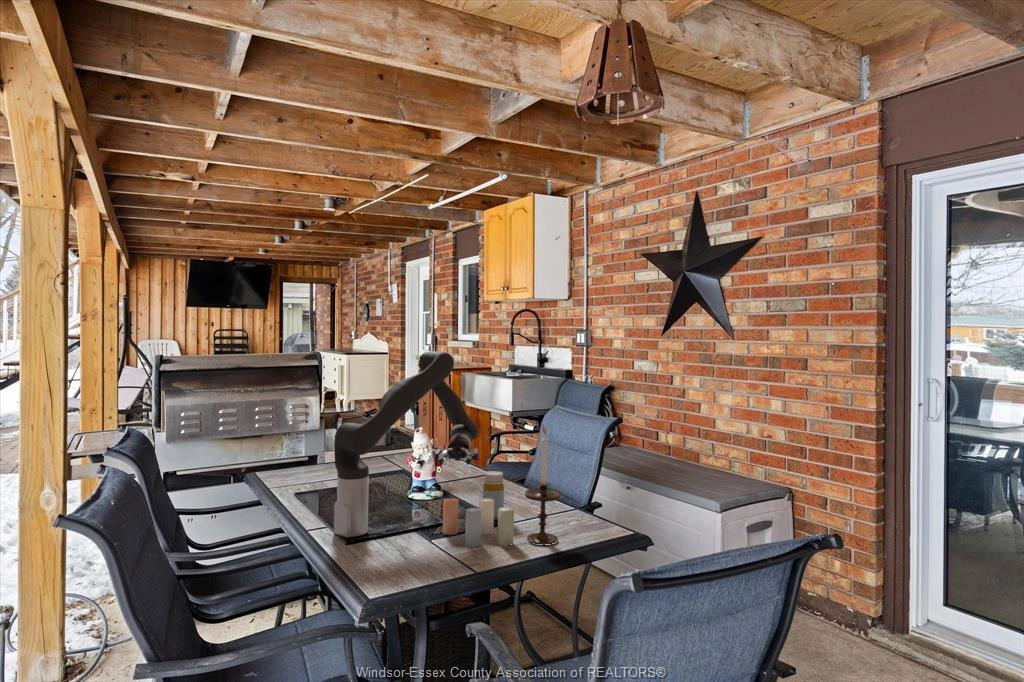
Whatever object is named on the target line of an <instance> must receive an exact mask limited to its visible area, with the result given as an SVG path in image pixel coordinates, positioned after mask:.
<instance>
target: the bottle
mask: <svg viewBox="0 0 1024 682" xmlns="http://www.w3.org/2000/svg"><path fill="white" fill-rule="evenodd" d="M503 482H504V473H503V472H502V471H500V470H499V471H498V470H488V471H485V472H484V484H483V487H482V499H483V498H490V499H493V500H494V520H495V521H498V520H497V519H498V509H500V508H505V507H504V505H505V503H504V501H505V500H504V499H505V486H504V483H503Z"/></svg>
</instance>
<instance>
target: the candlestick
mask: <svg viewBox="0 0 1024 682" xmlns="http://www.w3.org/2000/svg"><path fill="white" fill-rule="evenodd" d="M541 425H542V432H543V436H542V438H541V439H540V440H541V442H540V443H541V444H540V451H541V452H540V482H537V483H536V485H537V486H539V487H537V488H536V487H535V488H530V489H527V490H525V493H524V496H525V498H526V499H529V500H532V501H537V502H540V513H539V514H537V517H538V519H539V522H538V526H539V528H540V529H539V532H536V533H535V532H534V533H530V534H528V535H527V537H526V540H528V541H529V542H531V543H535V544H543V545H545V544H552V543H555V542H556V541H557V542H558V537H557V535H556V534H552V533H548V532H546V527H547V525H548V523H547V522H546V520H547V518H548V514H547V513H546V503H547V502H554V501H558V500H561V499H562V496H563V495H562V492H561V491H560V490H557V489H553V488H548V486H550V485H551V483H549V482H548V449H549V448H548V447H549V446H548V441H549V439H548V438H547V436H546V434H547V431H546V429H545V426H544V424H541ZM549 537H550V538H549ZM528 541H527V542H528ZM529 542H528V543H529Z"/></svg>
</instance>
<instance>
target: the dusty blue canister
mask: <svg viewBox="0 0 1024 682" xmlns="http://www.w3.org/2000/svg"><path fill="white" fill-rule="evenodd" d="M481 514H482V510H481V509H479V507H469V508H466V509H465V527H464V528H465V531H464V533H465V535H464V537H465V539H464V545H465V546H466V547H468V546H469V548H477V547H476V546H478V547H480V546H481V545H482V534H481Z"/></svg>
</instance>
